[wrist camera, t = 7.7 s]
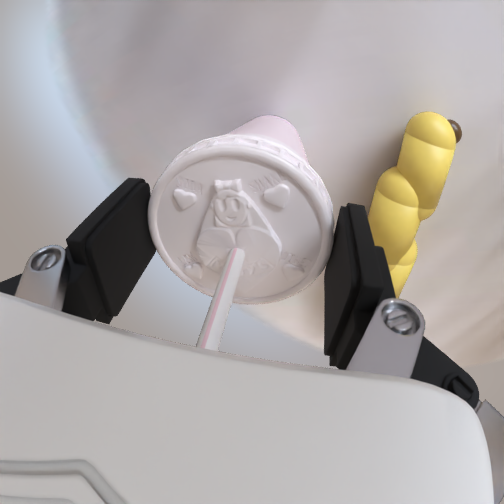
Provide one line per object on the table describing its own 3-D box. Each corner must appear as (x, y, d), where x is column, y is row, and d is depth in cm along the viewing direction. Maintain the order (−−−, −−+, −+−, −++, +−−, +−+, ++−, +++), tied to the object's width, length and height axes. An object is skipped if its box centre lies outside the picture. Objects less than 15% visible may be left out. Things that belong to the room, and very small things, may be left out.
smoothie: (224, 194, 20) (132, 391, 9) (208, 98, 17) (33, 232, 6) (325, 192, 19) (329, 415, 8) (322, 90, 15) (359, 225, 4)
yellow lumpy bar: (388, 96, 15) (404, 107, 12) (452, 115, 14) (476, 130, 12) (340, 286, 24) (342, 318, 21) (391, 293, 23) (397, 324, 21)
